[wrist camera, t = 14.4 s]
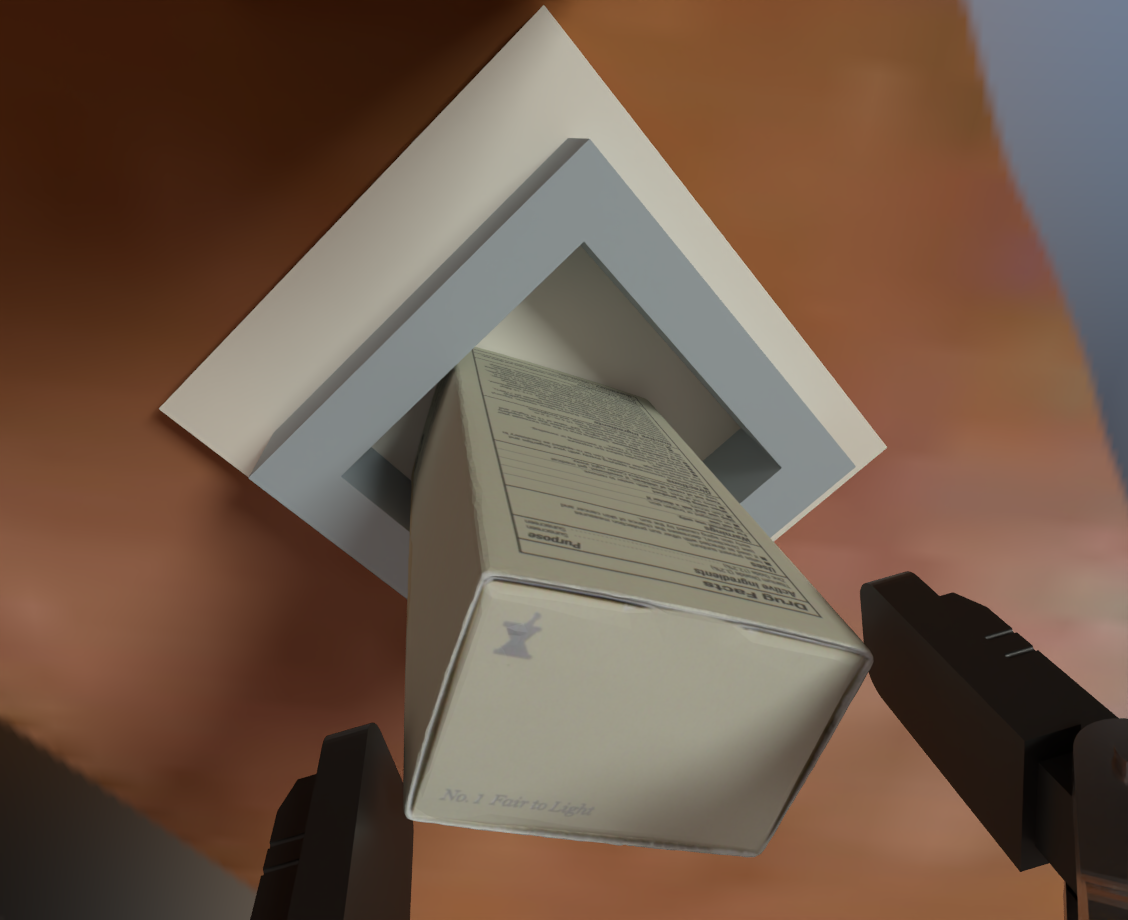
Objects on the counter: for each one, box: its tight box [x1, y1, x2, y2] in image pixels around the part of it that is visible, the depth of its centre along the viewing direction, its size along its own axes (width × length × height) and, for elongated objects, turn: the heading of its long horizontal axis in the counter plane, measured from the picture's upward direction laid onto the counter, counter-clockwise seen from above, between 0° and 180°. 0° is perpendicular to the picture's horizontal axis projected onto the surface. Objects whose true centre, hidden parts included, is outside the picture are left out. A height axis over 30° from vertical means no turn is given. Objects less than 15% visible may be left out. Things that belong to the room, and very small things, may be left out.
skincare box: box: [403, 347, 873, 857], centre depth 16 cm, size 6×4×12 cm
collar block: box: [159, 5, 887, 599], centre depth 21 cm, size 16×14×4 cm
